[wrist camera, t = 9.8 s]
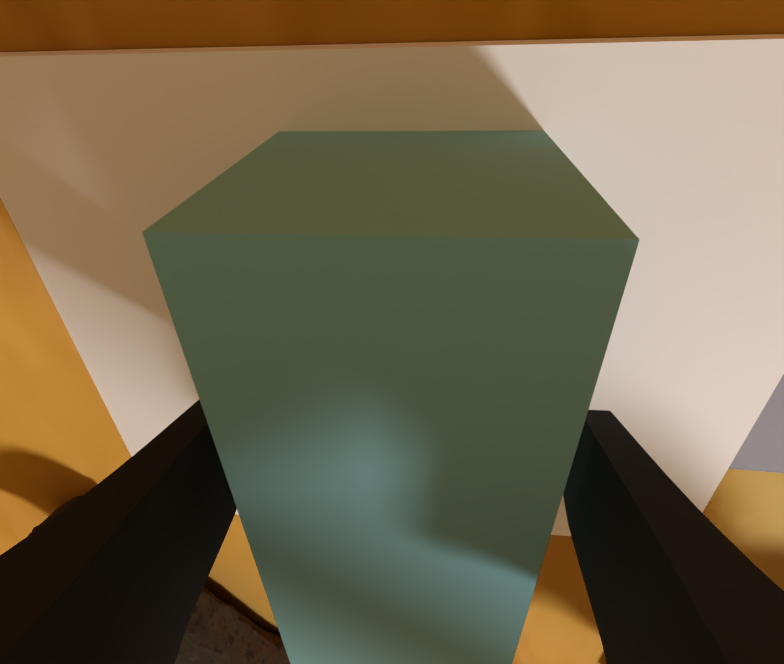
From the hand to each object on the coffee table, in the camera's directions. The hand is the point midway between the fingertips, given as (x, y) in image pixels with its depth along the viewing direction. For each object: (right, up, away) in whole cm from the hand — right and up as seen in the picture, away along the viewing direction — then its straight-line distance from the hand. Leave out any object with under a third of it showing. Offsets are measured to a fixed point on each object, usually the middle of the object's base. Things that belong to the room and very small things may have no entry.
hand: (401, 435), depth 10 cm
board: (0, +2, +3) cm, 4 cm away
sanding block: (0, +1, +2) cm, 2 cm away
